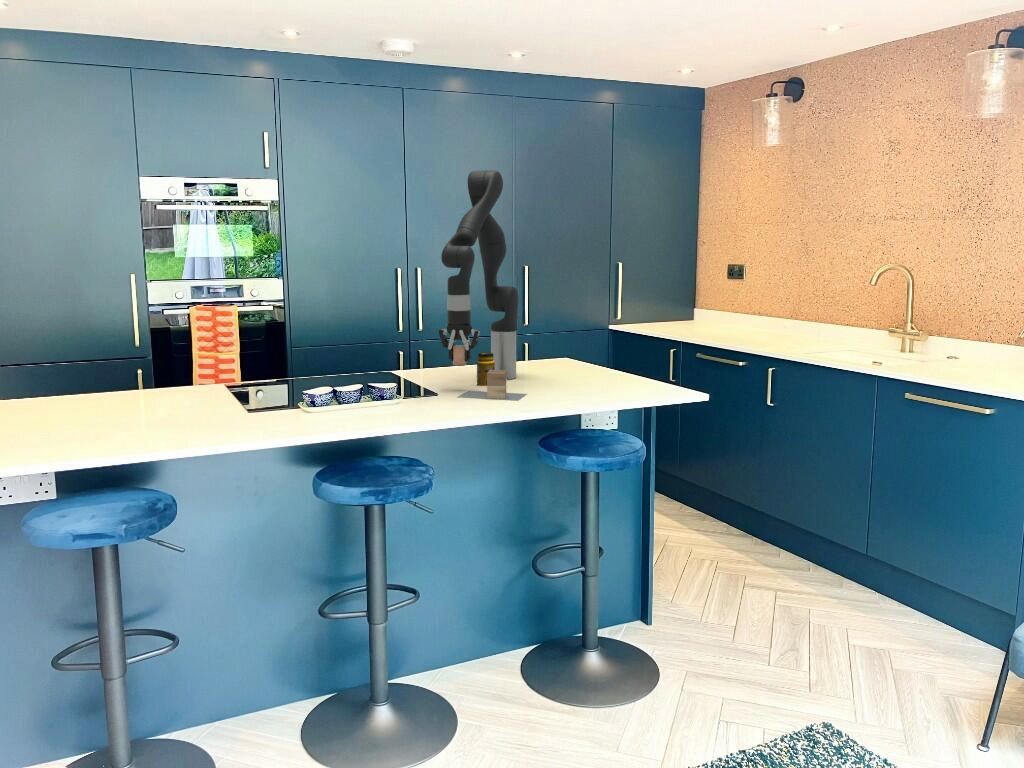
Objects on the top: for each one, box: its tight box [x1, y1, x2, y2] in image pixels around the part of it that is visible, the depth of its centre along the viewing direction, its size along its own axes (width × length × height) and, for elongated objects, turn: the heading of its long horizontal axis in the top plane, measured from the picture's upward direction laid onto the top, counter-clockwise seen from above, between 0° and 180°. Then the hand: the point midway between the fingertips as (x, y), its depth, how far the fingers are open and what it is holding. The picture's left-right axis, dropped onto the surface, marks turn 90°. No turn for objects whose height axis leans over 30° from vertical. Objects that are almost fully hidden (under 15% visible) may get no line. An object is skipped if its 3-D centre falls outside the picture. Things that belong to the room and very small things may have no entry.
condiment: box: [471, 351, 495, 387], centre depth 285 cm, size 7×8×12 cm
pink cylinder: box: [452, 344, 468, 367], centre depth 273 cm, size 4×4×6 cm
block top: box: [486, 370, 507, 387], centre depth 262 cm, size 6×6×4 cm
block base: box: [486, 384, 507, 400], centre depth 262 cm, size 6×6×4 cm
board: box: [457, 390, 528, 402], centre depth 265 cm, size 12×20×1 cm, turn 75°
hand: (459, 360), depth 273 cm, fingers closed on pink cylinder, 4 cm apart
